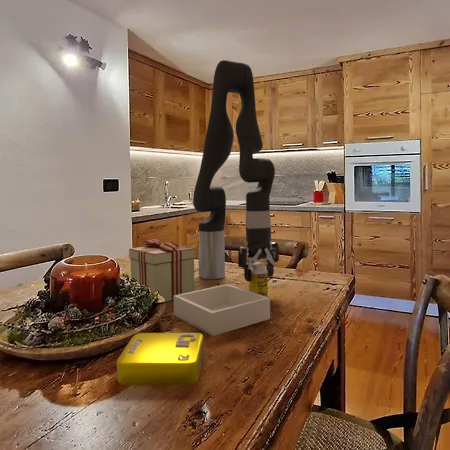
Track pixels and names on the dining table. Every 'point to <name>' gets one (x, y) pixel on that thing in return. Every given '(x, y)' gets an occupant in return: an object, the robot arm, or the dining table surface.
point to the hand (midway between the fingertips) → (259, 278)
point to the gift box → (163, 268)
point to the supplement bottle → (259, 279)
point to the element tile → (161, 359)
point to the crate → (221, 308)
